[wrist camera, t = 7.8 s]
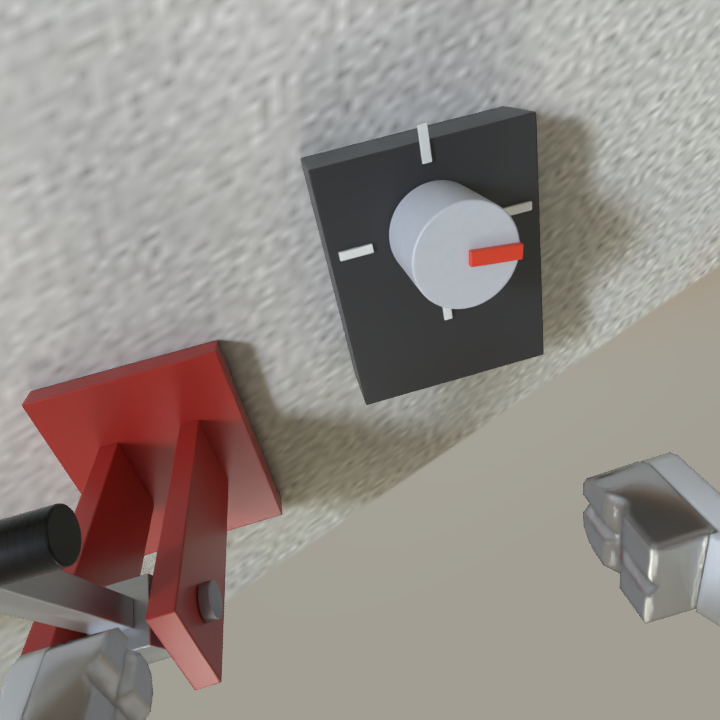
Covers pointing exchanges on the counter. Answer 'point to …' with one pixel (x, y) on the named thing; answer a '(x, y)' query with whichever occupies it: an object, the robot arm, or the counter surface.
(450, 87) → the counter surface
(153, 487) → the red lever mount bracket
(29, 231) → the counter surface
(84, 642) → the robot arm
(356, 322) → the console
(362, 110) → the counter surface
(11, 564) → the lever
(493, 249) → the dial
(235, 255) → the counter surface
